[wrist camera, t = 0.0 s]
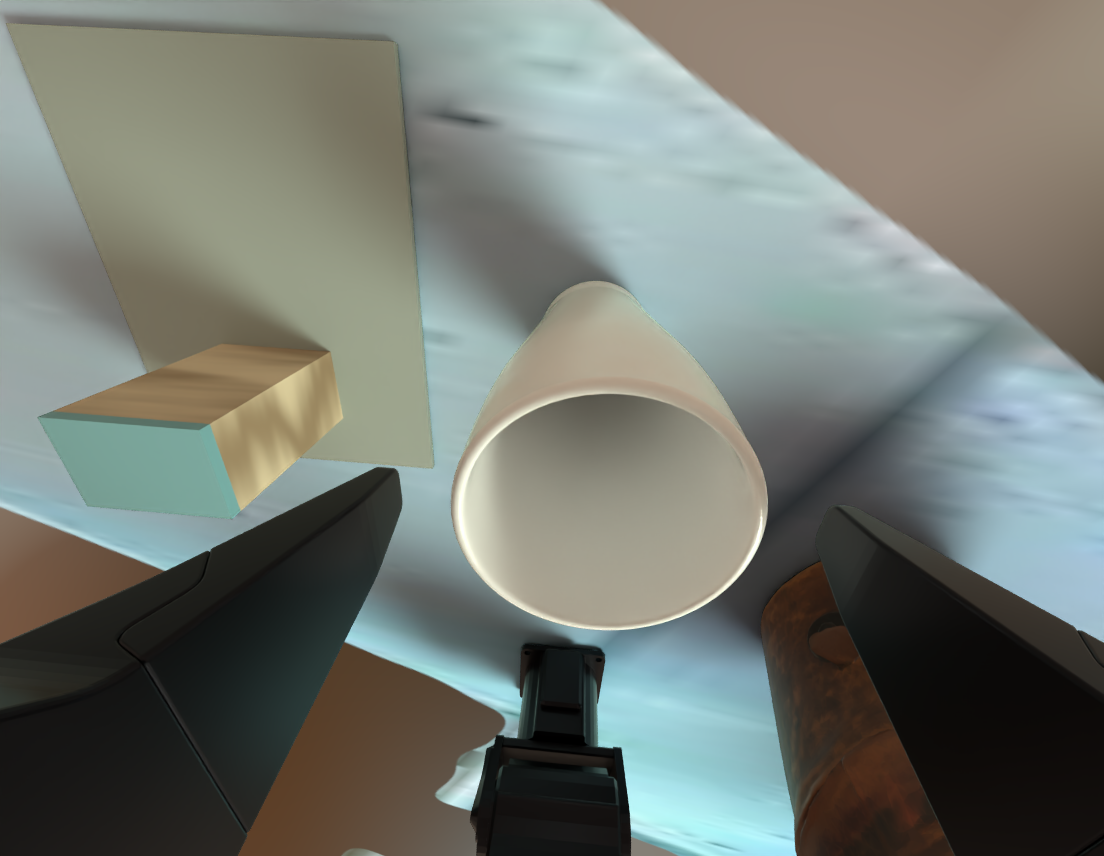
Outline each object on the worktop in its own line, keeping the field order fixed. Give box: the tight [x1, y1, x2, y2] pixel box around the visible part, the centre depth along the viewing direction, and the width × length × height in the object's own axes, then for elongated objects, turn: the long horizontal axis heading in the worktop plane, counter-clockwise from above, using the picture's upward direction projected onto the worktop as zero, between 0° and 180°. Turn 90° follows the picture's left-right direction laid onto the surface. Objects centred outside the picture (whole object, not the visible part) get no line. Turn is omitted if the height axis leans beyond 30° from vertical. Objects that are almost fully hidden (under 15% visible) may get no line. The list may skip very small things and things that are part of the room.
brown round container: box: [761, 561, 954, 856], centre depth 22 cm, size 18×20×18 cm
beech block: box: [38, 344, 343, 519], centre depth 20 cm, size 4×6×9 cm, turn 87°
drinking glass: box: [451, 281, 768, 630], centre depth 16 cm, size 7×7×15 cm
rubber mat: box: [6, 23, 434, 469], centre depth 22 cm, size 20×16×1 cm
